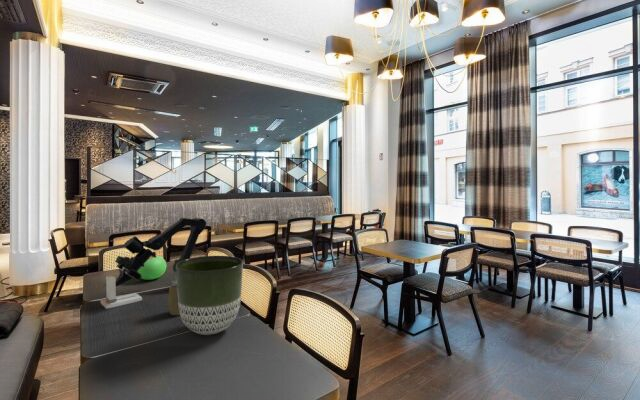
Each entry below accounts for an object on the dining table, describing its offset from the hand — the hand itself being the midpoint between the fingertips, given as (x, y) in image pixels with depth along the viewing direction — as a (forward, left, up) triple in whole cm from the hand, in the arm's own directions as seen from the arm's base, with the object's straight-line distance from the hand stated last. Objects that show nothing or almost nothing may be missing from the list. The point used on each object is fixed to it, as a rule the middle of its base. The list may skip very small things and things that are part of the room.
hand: (114, 286), depth 152 cm
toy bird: (+2, -40, -9) cm, 41 cm away
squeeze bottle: (-34, +11, -9) cm, 36 cm away
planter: (-53, +28, -9) cm, 61 cm away
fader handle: (+1, +1, -7) cm, 7 cm away
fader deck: (-2, -2, -8) cm, 9 cm away
